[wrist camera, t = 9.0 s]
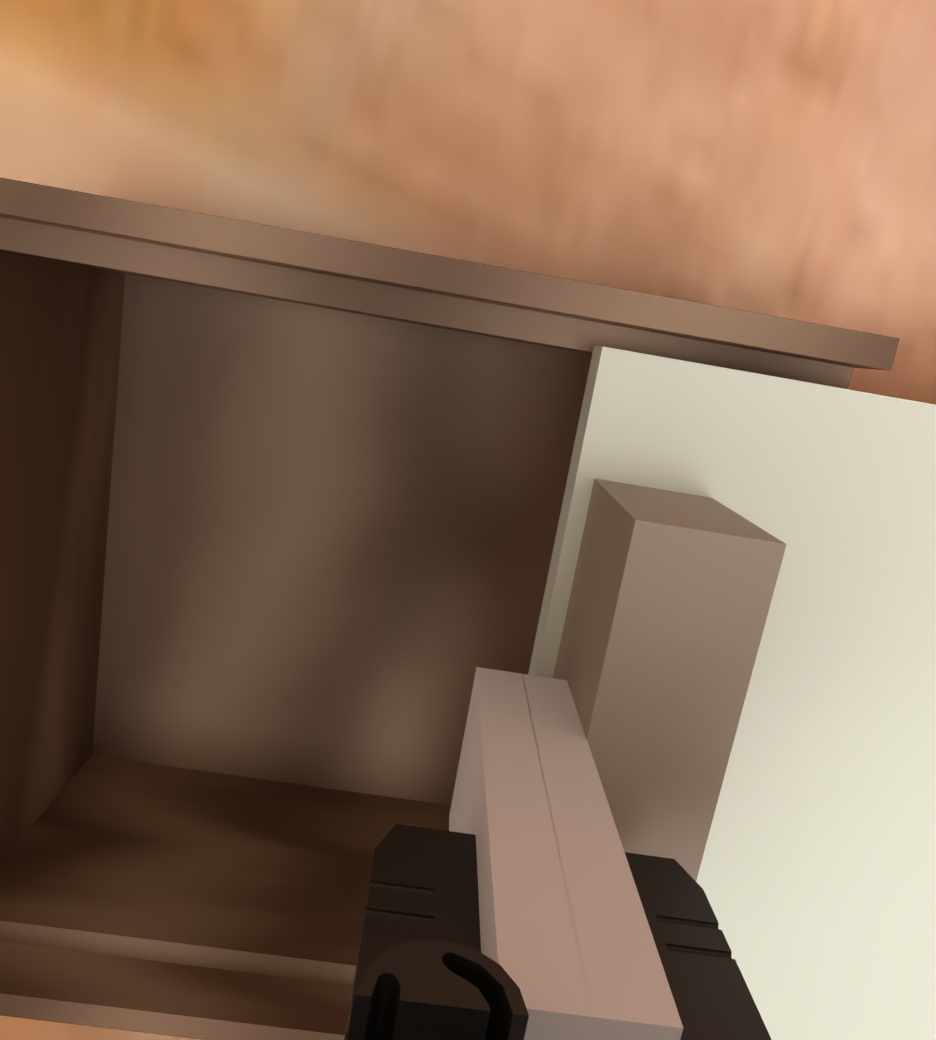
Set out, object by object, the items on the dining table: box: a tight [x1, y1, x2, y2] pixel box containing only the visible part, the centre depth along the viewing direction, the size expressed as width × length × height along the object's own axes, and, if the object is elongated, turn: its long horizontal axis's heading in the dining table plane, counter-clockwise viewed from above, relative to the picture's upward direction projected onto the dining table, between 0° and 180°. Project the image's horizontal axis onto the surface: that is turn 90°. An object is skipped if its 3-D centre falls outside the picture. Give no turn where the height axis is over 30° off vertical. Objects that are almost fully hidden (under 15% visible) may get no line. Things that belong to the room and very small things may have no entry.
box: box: [0, 178, 899, 1040], centre depth 18 cm, size 16×15×8 cm
